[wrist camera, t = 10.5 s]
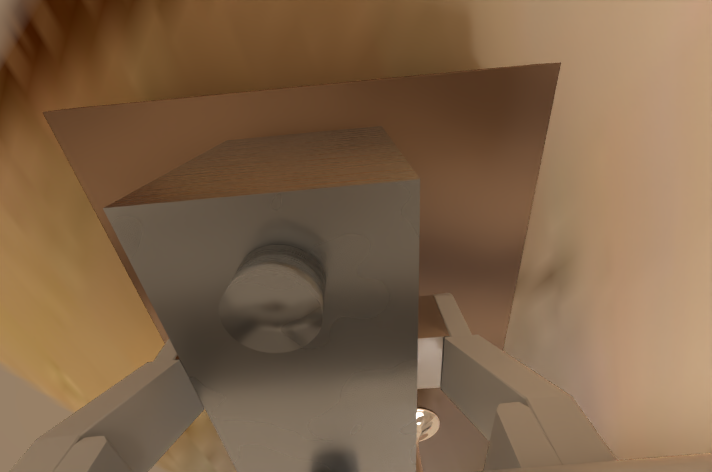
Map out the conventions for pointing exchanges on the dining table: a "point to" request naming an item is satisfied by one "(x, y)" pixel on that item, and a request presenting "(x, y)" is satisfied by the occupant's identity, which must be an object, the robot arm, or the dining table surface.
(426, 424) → the wineglass
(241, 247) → the plate
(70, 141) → the stand
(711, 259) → the dining table surface
